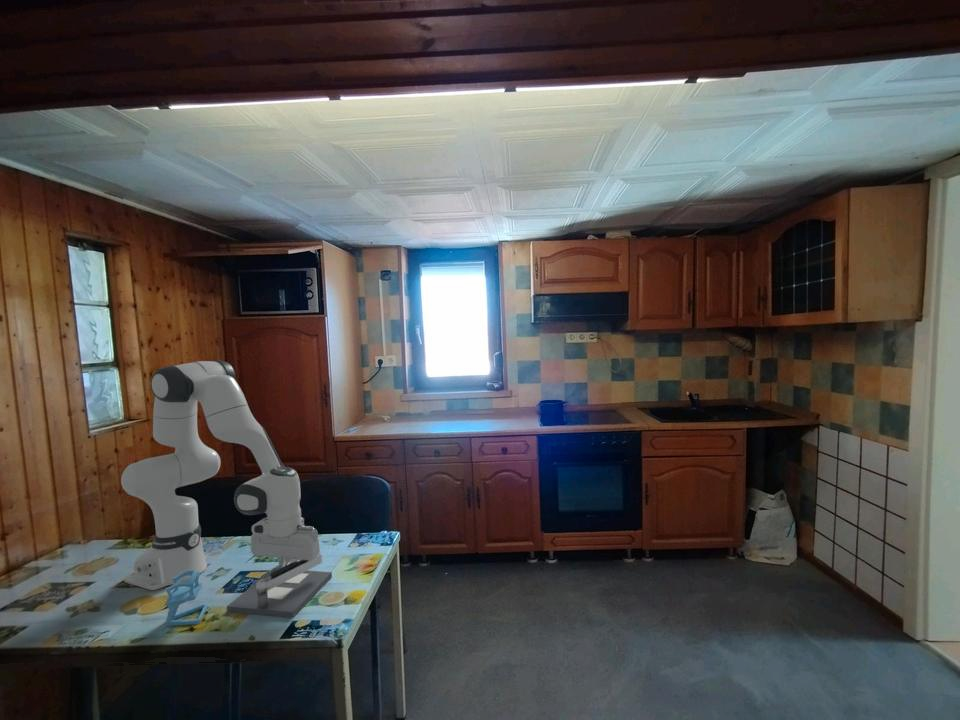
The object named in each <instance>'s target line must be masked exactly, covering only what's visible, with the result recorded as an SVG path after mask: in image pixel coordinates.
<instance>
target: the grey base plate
mask: <svg viewBox="0 0 960 720" xmlns="http://www.w3.org/2000/svg"><path fill="white" fill-rule="evenodd" d="M278 569H280V568H276V567H274V568H272V569H271V570H270V571H269V572H268V573H266V574H265V575H264V576H262V577H261V578H260V579H262V578H267V577H269V576H270V574H271V573H272V572H274V571H276V570H278ZM332 573H333V572H331V571H320V570H319V571H318V570H307V571H305V572H303V573H301V574H299V575H297V576H295V577H293V578H291V579H289V580H287V581H286V582H284V583H282V584H280V585H278V586H276V587H274V588H272V589H270V590H268V592H267V593H265V594H263V595H257V593H256V582H255V583H253V585H251V586H250V587H248V589H246V590H245V591H244V592H242V593H241V594H240V595H239V596H238V597H237V598H235V599H233V600H232V601H231V602H230V603H228V605H226V612H227V613H228V612H229V613H237V614H238V613H239V614H247V615H248V614H249V615H259V616H270V617H280V618H281V617H282V618H290V619H291V618H293V619H294V618H295V617H296V616H297V615H298V613H299V612H300V611H301V610H302V609H304V607H305V606H306V605H307V604H308V603H309V602H310V601H311V600H312V599H313V597H315V596H316V594H317V593H319V591H320V590H322V588H323V587H324V586H325V585H326V584H327V583H328V582H329V581H330V580H331V579H332V576H333V574H332Z"/></svg>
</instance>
